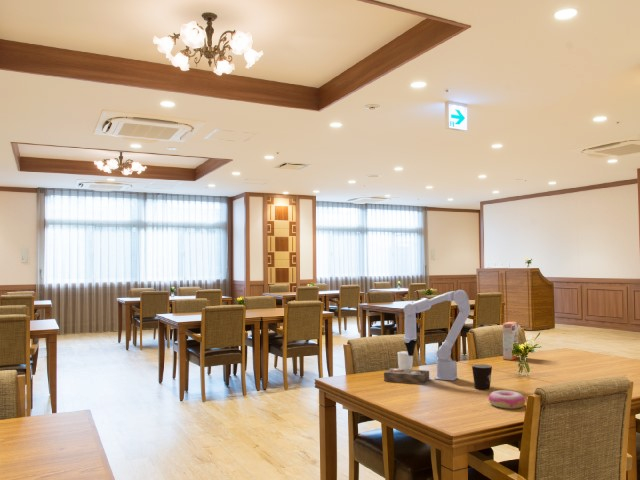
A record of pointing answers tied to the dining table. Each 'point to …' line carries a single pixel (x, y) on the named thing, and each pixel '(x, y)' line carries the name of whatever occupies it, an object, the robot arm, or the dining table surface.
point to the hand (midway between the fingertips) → (410, 355)
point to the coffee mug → (482, 376)
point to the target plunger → (397, 370)
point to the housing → (407, 376)
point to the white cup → (405, 360)
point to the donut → (507, 399)
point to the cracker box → (509, 339)
